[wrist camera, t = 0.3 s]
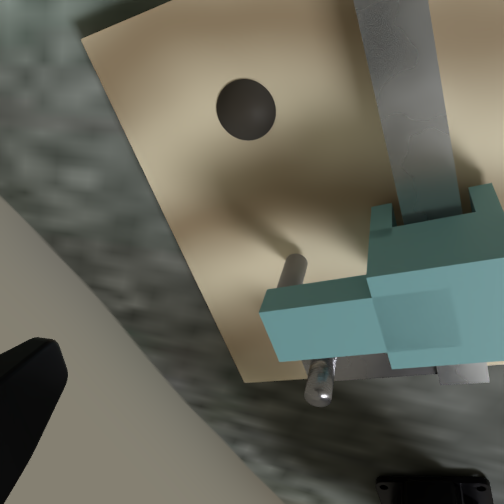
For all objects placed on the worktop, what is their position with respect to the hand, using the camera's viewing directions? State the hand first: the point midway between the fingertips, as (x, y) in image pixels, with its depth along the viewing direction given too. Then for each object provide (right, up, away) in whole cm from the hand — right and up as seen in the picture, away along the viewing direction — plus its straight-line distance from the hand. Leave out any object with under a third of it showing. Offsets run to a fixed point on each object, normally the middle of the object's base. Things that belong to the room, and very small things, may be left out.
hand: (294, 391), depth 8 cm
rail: (+6, +5, +11) cm, 14 cm away
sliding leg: (+5, +2, +12) cm, 13 cm away
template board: (+3, +4, +13) cm, 14 cm away
